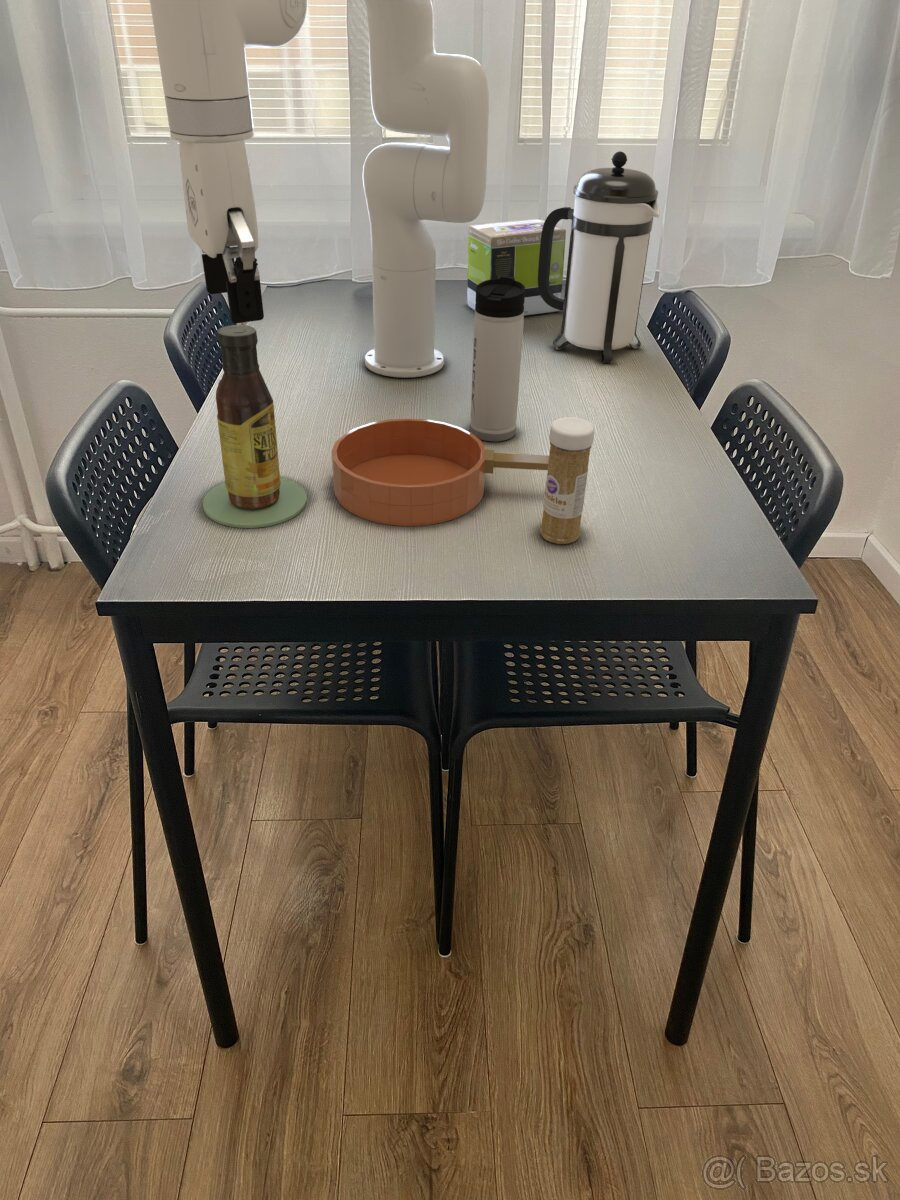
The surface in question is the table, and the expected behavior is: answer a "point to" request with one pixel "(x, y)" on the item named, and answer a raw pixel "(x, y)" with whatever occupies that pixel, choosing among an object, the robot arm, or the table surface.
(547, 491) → the sprinkles bottle
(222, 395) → the sauce bottle
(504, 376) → the travel mug
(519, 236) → the tea box
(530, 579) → the table surface
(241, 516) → the trivet
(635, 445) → the table surface
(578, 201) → the coffee press
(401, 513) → the pan
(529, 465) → the pan handle
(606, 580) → the table surface
